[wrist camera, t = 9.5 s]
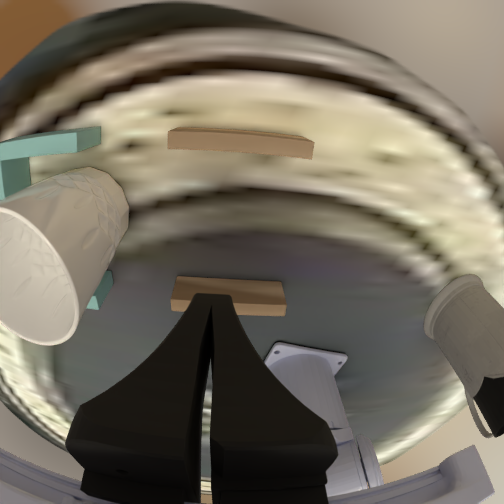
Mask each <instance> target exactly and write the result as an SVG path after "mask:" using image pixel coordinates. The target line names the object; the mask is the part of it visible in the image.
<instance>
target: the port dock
mask: <svg viewBox="0 0 504 504" xmlns="http://www.w3.org/2000/svg"><path fill="white" fill-rule="evenodd" d="M98 144H101V127H90V128H79V129H69V130H60V131H53V132H45V133H38V134H32V135H26V136H20V137H15V138H12V139H9V140H5V141H2V142H0V200H2V199H4V198H6V197H8V196H10V195H12V194H14V193H16V192H18V191H20V190H22V189H24V188H26V187H28V186H30V185H31V181H30V170H29V158H28V157H32V156H42V155H52V154H63V153H77V152H79V151H82V150H85V149H87V148H90V147H93V146H95V145H98ZM112 285H113V278H112V272H111V271H105V273H104V275H103V278H102V280H101V282H100V283H99V285H98V287H97V289H96V290H95V292H94V294H93V296H92V298H91V300H90V302H89V304H88V306H87V308H89V309H97V310H99V309H100V307H101V305H102V303H103V301H104V300H105V298H106V296H107V294H108V292H109V291H110V289H111V287H112Z"/></svg>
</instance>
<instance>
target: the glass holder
mask: <svg viewBox="0 0 504 504" xmlns="http://www.w3.org/2000/svg"><path fill="white" fill-rule="evenodd" d="M424 331H425V333H426V335H427V336H428V337H429V338H431V339H434V340H435V341H436V342H437V344H438V345H439V347H440V349H441V350H442V352H443V353H444V355H445V356H446V358H447V359H448V361H449V362H450V364H451V366H452V367H453V369H454V370H455V372H456V374H457V375H458V377H459V379H460V380H461V382H462V383H463V385H464V389H465V394H466V398H467V402H468V405H469V408H470V411H471V414H472V416H473V419H474V421H475V423H476V425H477V427H478V429H479V431H480V432H481V434H482V435H483V436H484V437H486V438H491V437H493V436H494V437H498V436H501V435H502V434H504V308H503V307H502V306H501V305H500V304H499V303H498V302H497V301H496V300H495V299H494V298H493V297H492V296H491V295H490V294H489V293H488V292H487V291H486V290H485V288H484V286H483V283H482V281H481V279H480V278H479V277H478V276H476V275H472V274H469V275H464V276H461V277H459V278H457V279H455V280H453V281H452V282H451V283H449V284H448V285H447V286H446V287H445V288H443V289H442V290H441V292H440V293H439V294H438V295H437V296H436V297H435V299H434V300H433V302H432V303H431V305H430V306H429V308H428V310H427V313H426V315H425V319H424ZM473 400H475V402H476V404H477V405H478V407H479V409H480V411H481V413H482V414H483V416H484V418H485V420H486V422H487V424H488V426H489V427H490V429H491V431H492V434H491V433H489V432H488V431H486V429H485V428H484V426H483V424H482V422H481V420H480V418H479V416H478V413H477V411H476V408H475V405H474V402H473Z"/></svg>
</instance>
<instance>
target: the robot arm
mask: <svg viewBox="0 0 504 504" xmlns="http://www.w3.org/2000/svg"><path fill="white" fill-rule="evenodd" d="M210 359H211V367H212V383H213V389H212V407H211V424H210V453H211V491H212V502H213V504H479V503H481V502H483V501H484V500H486V499H487V498H489V497H490V496H492V495H493V494H494V492H495V491H494V489H493V486H492V483H491V481H490V479H489V476H488V474H487V471H486V469H485V467H484V465H483V462H482V460H481V458H480V456H479V453H478V451H477V449H476V447H475V445H472V446H470V447H468V448H465V449H464V450H461V451H459V452H457V453H455V454H453V455H451V456H449V457H448V458H446V459H445V460H444V461H443V462H441V463H440V465H439V466H437V467H434V468H431V469H429V470H426V471H423V472H421V473H418V474H415V475H412V476H409V477H406V478H403V479H400V480H397V481H394V482H390V483H387V484H384V482H383V478H382V474H381V470H380V466H379V463H378V460H377V456H376V453H375V450H374V447H373V445H372V442H371V440H370V438H368V437H365V436H363V435H362V434H360V435H358V436H356V439H357V443H358V450H359V453H360V457H361V459H360V457H359V454H358V450H357V447H356V443H355V440H354V437H353V433H352V430H351V427H349V423H348V420H347V417H346V413H345V410H344V407H343V404H342V400H341V397H340V394H339V391H338V387H337V384H336V381H335V378H334V375H335V374H336V373H337V372H338V371H339V369H340V368H341V367H342V366H343V364H344V363H345V362H346V360H347V355H346V354H341V353H335V352H329V351H323V350H318V349H312V348H307V347H301V346H296V345H291V344H286V343H281V342H278V343H275V344H274V345H273V347H272V349H271V350H270V352H269V354H268V356H267V357H266V359H265V361H264V362H263V360H262V359H261V358H260V356H259V355H258V353H257V352H256V350H255V349H254V347H253V345H252V344H251V342H250V340H249V338H248V337H247V335H246V333H245V331H244V329H243V327H242V325H241V323H240V321H239V318H238V316H237V313H236V311H235V308H234V305H233V301H232V297H231V296H230V295H227V294H209V293H196V294H195V295H194V296H193V298H192V300H191V302H190V304H189V306H188V307H187V309H186V311H185V312H184V314H183V315H182V317H181V318H180V320H179V321H178V322H177V324H176V325H175V327H174V328H173V329H172V331H171V332H170V333H169V334H168V336H167V337H166V338H165V339H164V341H163V342H162V343H161V344H160V345H159V346H158V347H157V349H156V350H155V351H154V352H153V353H152V354H151V355H150V356H149V357H148V358H147V359H146V360H145V361H144V362H142V363H141V364H140V365H139V366H138V367H137V368H136V369H135V370H133V371H132V372H131V373H130V374H129V375H127V376H126V377H125V378H123V379H122V380H121V381H119V382H118V383H116V384H115V385H114V386H112V387H111V388H109V389H108V390H106V391H105V392H103V393H102V394H100V395H98V396H96V397H95V398H93V399H91V400H89V401H88V402H86V403H84V404H82V405H80V407H79V409H78V411H77V413H76V415H75V417H74V419H73V421H72V424H71V427H70V430H69V433H68V436H67V439H66V442H65V445H66V448H67V450H68V451H69V453H70V454H71V455H72V456H73V457H74V458H75V459H76V461H77V462H78V463H79V464H80V465H81V466H82V467H83V468H84V469H85V470H84V474H83V478H82V481H79V480H76V479H72V478H69V477H66V476H64V475H61V474H58V473H55V472H53V471H50V470H47V469H45V468H43V467H40V466H38V465H35V464H33V463H31V462H28V461H26V460H24V459H22V458H20V457H17V456H15V455H13V454H11V453H9V452H7V451H5V450H3V449H1V448H0V504H203V503H201V436H202V412H203V403H204V396H205V390H206V384H207V377H208V371H209V365H210ZM367 482H368V486H369V489H368V486H367Z"/></svg>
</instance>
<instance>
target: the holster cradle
mask: <svg viewBox="0 0 504 504" xmlns="http://www.w3.org/2000/svg"><path fill="white" fill-rule="evenodd" d="M313 148H314V142H313V141H311V140H309V139H306V138H304V137H301V136H293V135H285V134H276V133H267V132H256V131H245V130H231V129H213V128H181V127H178V128H175V129H173V130H170V131H168V149H190V150H214V151H231V152H245V153H258V154H269V155H279V156H288V157H297V158H305V159H312V155H313ZM196 293H209V294H227V295H230V296H231V297H232V301H233V305H234V308H235V311H236V313H237V315H260V316H285V312H286V307H287V304H286V300H285V296H284V292H283V288H282V284H281V282H279V281H257V280H237V279H218V278H201V277H185V276H177V279H176V282H175V286H174V289H173V293H172V296H171V310H172V311H184V312H185V311H186V309H187V307H188V306H189V304H190V302H191V300H192V298H193V296H194V295H195V294H196Z"/></svg>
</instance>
